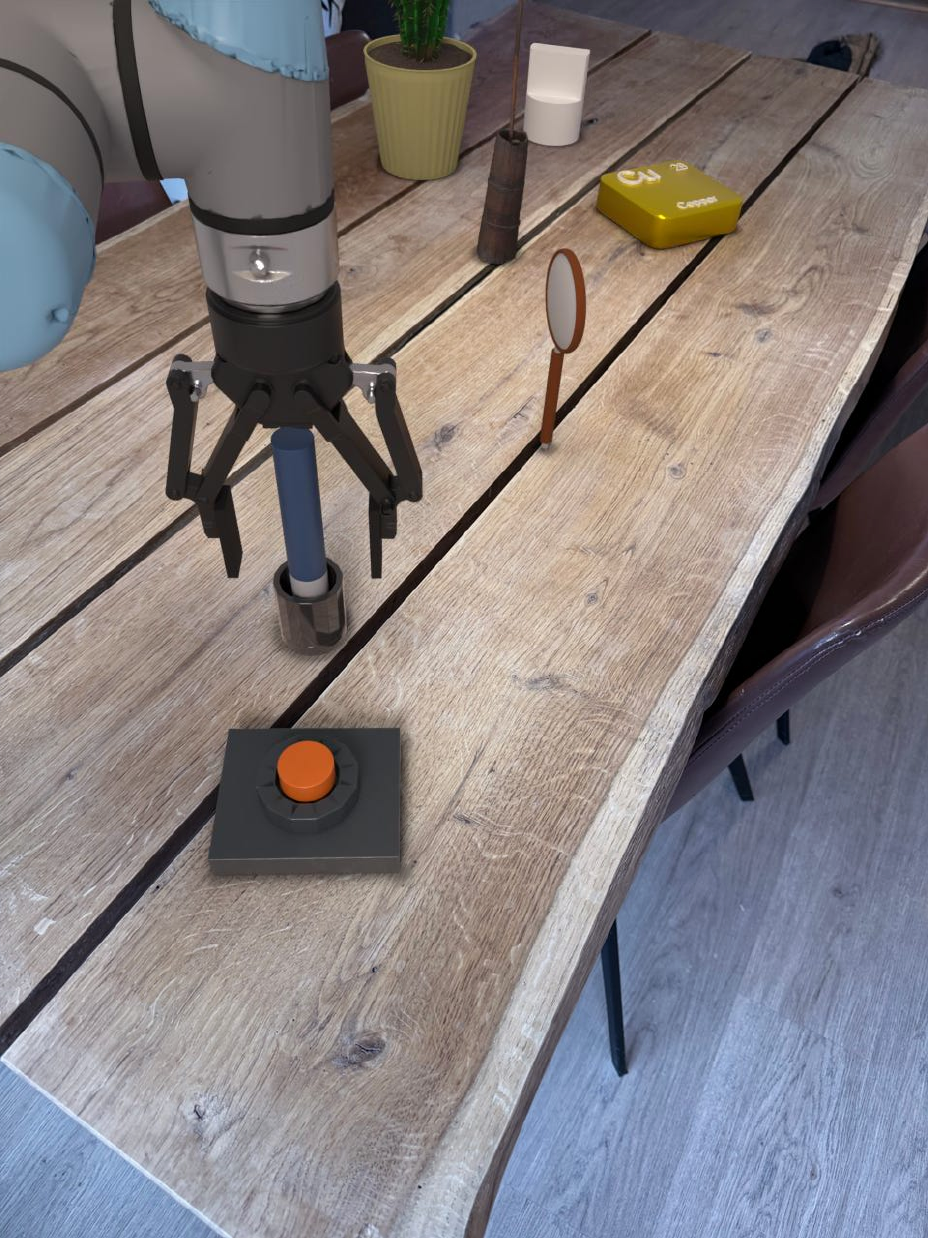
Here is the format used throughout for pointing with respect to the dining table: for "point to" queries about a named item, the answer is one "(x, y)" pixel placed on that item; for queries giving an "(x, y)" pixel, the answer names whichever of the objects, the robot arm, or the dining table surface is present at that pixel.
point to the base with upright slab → (555, 94)
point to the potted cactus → (419, 91)
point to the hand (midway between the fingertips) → (306, 565)
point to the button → (306, 771)
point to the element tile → (668, 204)
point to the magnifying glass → (562, 326)
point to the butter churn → (505, 183)
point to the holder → (311, 613)
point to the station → (308, 806)
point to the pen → (300, 510)
